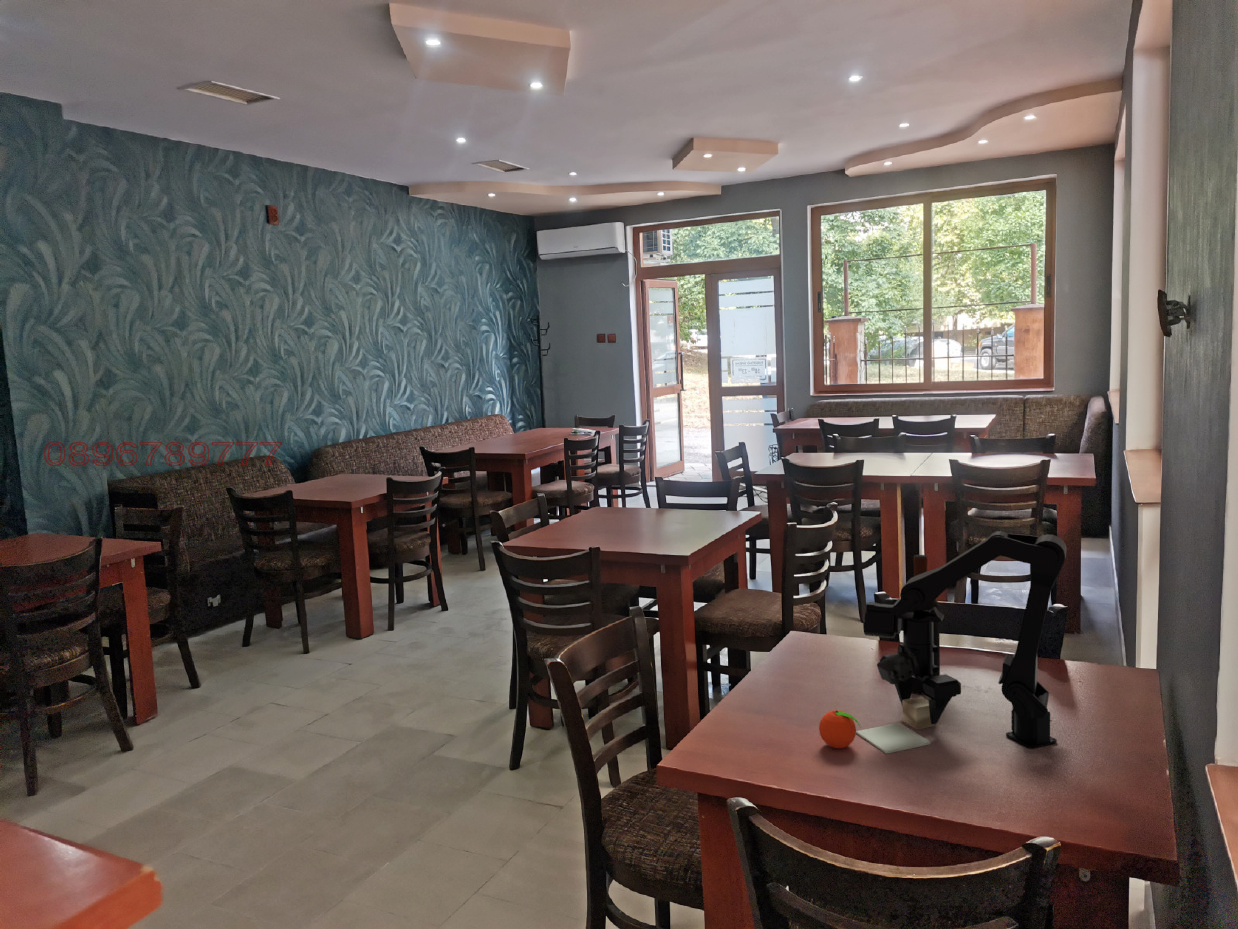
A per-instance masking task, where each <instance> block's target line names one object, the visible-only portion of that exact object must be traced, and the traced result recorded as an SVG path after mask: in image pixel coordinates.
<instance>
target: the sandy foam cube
mask: <svg viewBox="0 0 1238 929" xmlns="http://www.w3.org/2000/svg"><path fill="white" fill-rule="evenodd" d="M901 706H902V709H901V710H902V722H904V723H905V722H906V723H905V724H906V725H908V726H910V727H912V728H914V729H915V730H920V729H926V728H930V727H935V726H936V725H937V724H931V720H930V712H929V701H928V699H927V698H926V697H923V696H917V697H912V698H911V697H910V699H906V700H902V704H901Z"/></svg>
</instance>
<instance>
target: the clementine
mask: <svg viewBox="0 0 1238 929" xmlns="http://www.w3.org/2000/svg"><path fill="white" fill-rule="evenodd" d="M855 723H857V724H858V726H859V728H860V729H861V724H860V722H858V720H857V719H856V718H855V717H854V716H852V715H851V714H849V713H847V712H844V711H843V710H836V709H835V710H831V711H828V712H826V713H825V714H824V715H823V716H822V717H821V720H820V722H819V724H818V729H819V730H818V731H819V735H820V737H821V739H822V740H823V743H825V744H826V745H828V746H829V747H832V748H833V749H844V748H846V747H848V746H850V745H851V744H852V743H853V741H854V740H855V737H856V735H857V734H856V731H857V726H856V724H855Z"/></svg>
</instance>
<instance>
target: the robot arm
mask: <svg viewBox="0 0 1238 929" xmlns="http://www.w3.org/2000/svg"><path fill="white" fill-rule="evenodd" d="M1066 544H1067V543H1065V542H1064V540H1063V539H1062V538H1060V536H1057V535H1055V534H1042V535H1041V536H1036V535H1031V534H1023V533H1022V534H1019V533H1010V532H1005V531H1002V530H998V531H994V532H992V533H991V535H990V536H989V537H987V538H985V539H984V540H982V541H981V542H978V543H977V544H976V545H974V546H972V547H971V548H969V549H968V550H966V551H964V552H963V553H961V554H960V555H958V556H956V557H954V558H953V559H952V560H950V561H948V562H946V563H945V564H943V565H941V566H940V567H937V568H934V569H931V570H927V572H924V573H922V574H919V575H917V576H914V575H913V577H911V578H910V579H909V580H907V581H906V583H905V584H904V585H903V586H902V588H901V590H900V593H899V594H900V595H899V596H900V598H898V599H897V600H896V601H895V602H894V604H886V603H878V602H875V601H868V602H867V603H866V605H865V607H866V608H865V612H864V619H863V624H862V626H863V628H862V629H863V634H864V635H865V636H867V637H868V636H869V637H876V638H877V637H878V638H886V639H887V638H888V639H895V637H896V635H897V634H898V635H899V634H901V632H902V635H903V636H902V638H903V639H902V641H903V642H901V643H898V646H897V652H896V653H889V654H885V655H882V657H881V658H880V659H879V661H878V662H877V663H876V667H877V670H878V672H879V675H880V678H881V679H882V680H884V681H886V682H888V683H889V684H890V685H894V687H895V690H896V693H897V695H898V699H899V702H900V704H901V705H902V700H906V699H911V697H912V693H911V691H912V686H913V681H914V678H917V679H919V680H921V681H923V689H924V691H925V693H923V696H924V698H925V699H927V700H928V701H929V712H930V720H931V724H936V725H937V724H938V722H939V721H940V719H941V716H942V714H944V711H945V709H946V707H947V705H948V704H949V702H950V701H951V700H952V698H953V697H956V696H959V695H961V693H962V683H961V682H960V681H959V680H958V679H957V678H954V677H952V676H950V675H948V674H940V675H938V676H933V675H932V674H933V672H938V666H936V665H934V652H938V646H935V645H933V622H939V623H942V621H943V619H944V617H945V615H944V614H943V613H942V612H940V610H939V611H938V610H937V608H936V607H933V609H932V610H930V611H928V610H923V609H925V608H926V607H927V606H928V605H930V604H931V603H932V602H933V601H934V600H935V599H936V600H937V599H938V597H940V596H941V595H942V594H943V593H944V592H945V591H946V590H947V589H948V588H949V587H951V586H952V585H954V584H955V583H957V582H959V581H960V580H962V579H964V578H965V577H967V576H969V575H970V574H972V573H974V572H975V571H978V569H980V568H982V567H984V566H985V565H987V564H988V563H990V562H992V561H993V560H995V559H996V558H999V557H1000V556H1001V557H1003V558H1009V559H1011V560H1015V561H1018V562H1020V563H1025V564H1029V577H1030V579H1029V580H1030V585H1029V592H1028V595H1027V600H1026V605H1025V607H1024V608H1025V609H1024V613H1023V618H1022V622H1021V628H1020V632H1019V636H1018V641H1017V646H1016V649H1015V653H1014V654H1013V655H1009V654H1007V653H1006V654H1005V656H1004V659H1003V662H1002V668H1001V669H1002V670H1001V674H1000V676H999V679H998V684H999V685H1001V694H1002V695H1003V697H1004V698H1005V699H1006V700H1007V701H1008V702H1010V703H1011V706H1012V708H1011V731H1008V732H1006V733H1005V736H1006V737H1008V738H1010V739H1012V740H1013V741H1014V742H1017V743H1019V744H1021V745H1023V746H1025V747H1026V748H1028V749H1034V748H1037V747H1043V746H1046V745H1052V744H1055V743H1057V742H1058V741H1057V740H1058V739H1056V738H1055V737H1053V736H1051V711H1048V705H1049V704H1048V703H1049V699H1050V692H1049V690H1047V689H1046V688H1045V687H1044V686H1043V685H1042V684H1041V683H1040V682H1039V681H1038V651H1039V646H1040V643H1041V637H1042V634H1043V628H1044V625H1045V619H1046V616H1047V615H1046V614H1047V611H1048V606H1049V602H1050V597H1051V594H1052V590H1053V588H1054V585H1055V583H1056V582H1057V580H1058V578H1059V576H1060V574H1061V573H1060V572H1061V571H1062V569H1063V566H1064V564H1065V561H1066V556H1067V549H1068V547H1067V545H1066ZM911 610H915V611H914V612H912V613H910V612H909V611H911Z"/></svg>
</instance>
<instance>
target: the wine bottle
mask: <svg viewBox="0 0 1238 929" xmlns="http://www.w3.org/2000/svg"><path fill="white" fill-rule="evenodd" d="M927 571H928V555H926V554H915V555H913V577H914V576H917V575H919V574H922V573H924V572H927ZM933 607H936V608H937V610H938V611H939V612H940V603H939V602H938V600H937V598H936V599H935V600H934V601H933V602H932V603H931V604H930V605H928V606H927V607H926V608H925V609H923V610H928V611H930V610H932V609H933ZM914 611H915V610H911V611H909V612H910V613H912V612H914ZM940 638H941V637H940V622H933V645H935V646H938V652H934V665H936V666H938V672H933V674H932V675H933V676H938V675H941V660H940V659H941V658H940V657H941V656H940V655H941V654H940V651H941V650H940V649H941V648H940V646H941V645H940ZM923 693H925V691H924V689H923V681H921V680H919V679H917V678H914V681H913V686H912V691H911V694H915V695H919V696H920V695H921V696H922V695H923ZM923 696H924V695H923Z"/></svg>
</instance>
